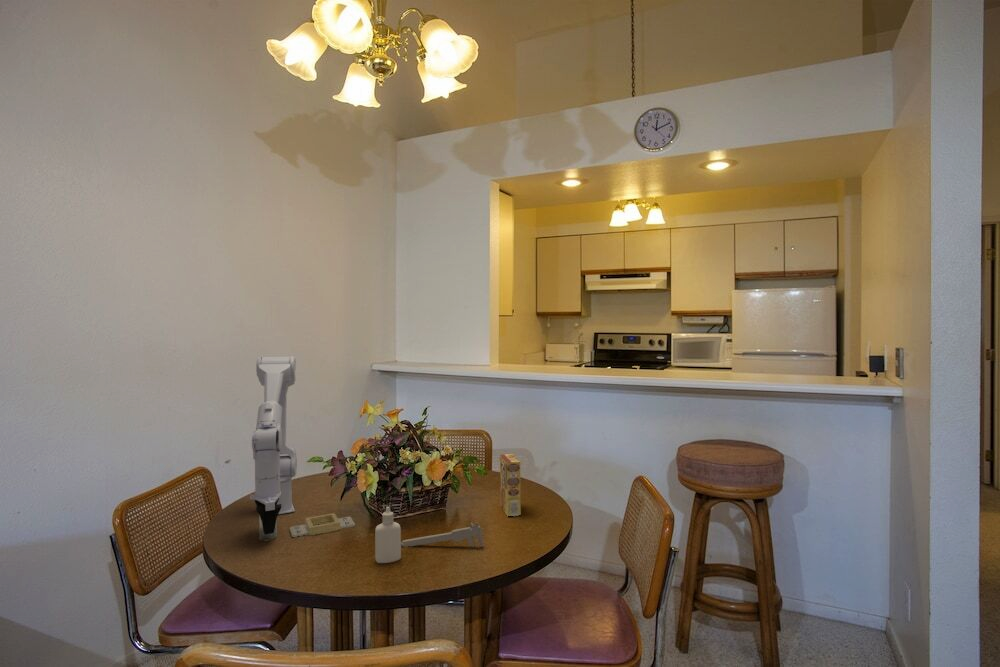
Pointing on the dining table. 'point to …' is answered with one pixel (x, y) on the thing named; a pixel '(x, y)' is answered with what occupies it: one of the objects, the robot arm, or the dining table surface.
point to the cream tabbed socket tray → (323, 528)
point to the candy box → (510, 485)
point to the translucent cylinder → (267, 536)
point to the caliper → (449, 537)
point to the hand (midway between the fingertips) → (268, 530)
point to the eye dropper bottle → (387, 539)
